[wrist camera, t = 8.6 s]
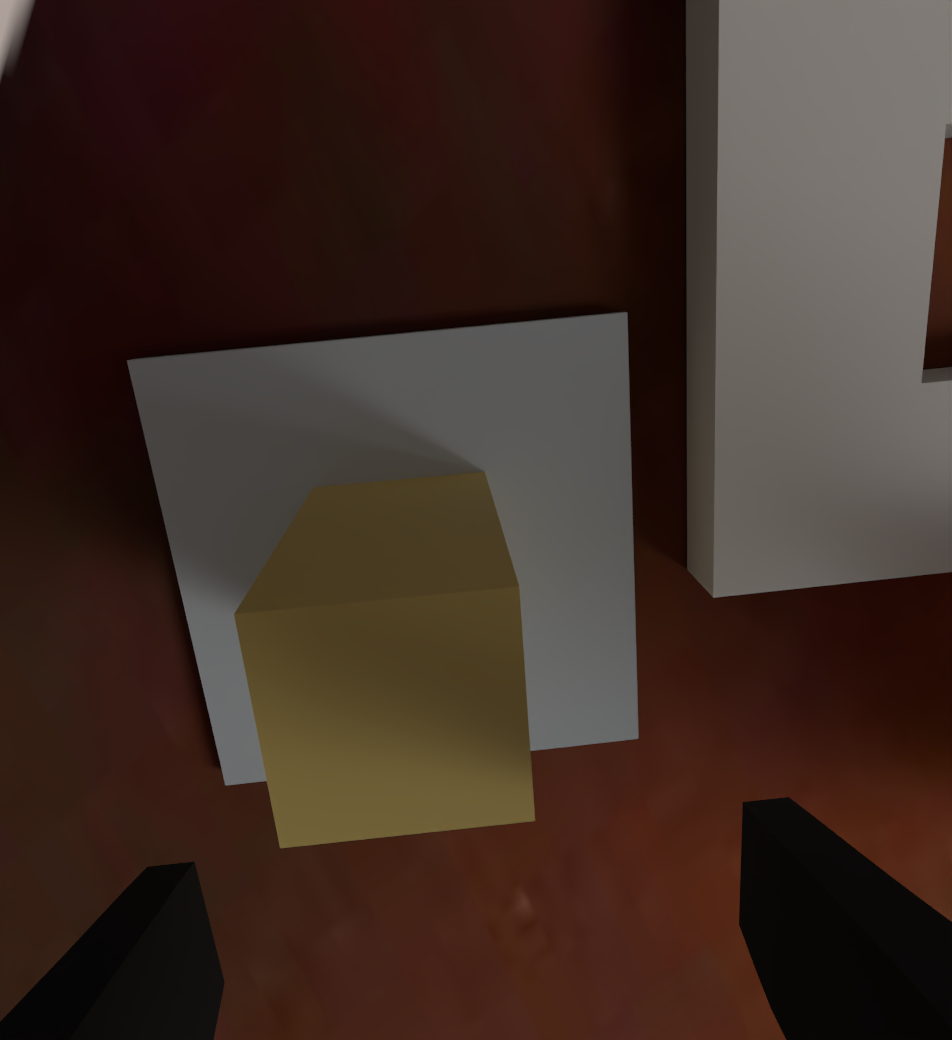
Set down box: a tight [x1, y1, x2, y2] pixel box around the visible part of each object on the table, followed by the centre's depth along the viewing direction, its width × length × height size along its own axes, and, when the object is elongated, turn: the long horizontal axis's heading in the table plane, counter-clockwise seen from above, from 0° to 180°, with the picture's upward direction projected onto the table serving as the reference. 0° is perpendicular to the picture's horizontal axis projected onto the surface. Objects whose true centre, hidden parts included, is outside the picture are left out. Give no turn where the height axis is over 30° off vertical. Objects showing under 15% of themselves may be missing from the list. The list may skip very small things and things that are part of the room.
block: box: [234, 472, 535, 848], centre depth 14 cm, size 4×4×7 cm
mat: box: [127, 312, 638, 785], centre depth 18 cm, size 11×11×1 cm
